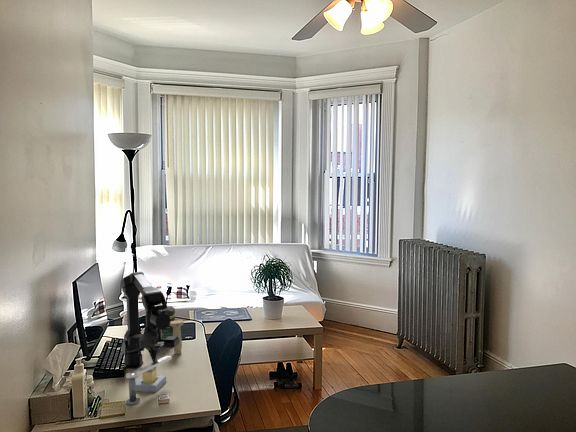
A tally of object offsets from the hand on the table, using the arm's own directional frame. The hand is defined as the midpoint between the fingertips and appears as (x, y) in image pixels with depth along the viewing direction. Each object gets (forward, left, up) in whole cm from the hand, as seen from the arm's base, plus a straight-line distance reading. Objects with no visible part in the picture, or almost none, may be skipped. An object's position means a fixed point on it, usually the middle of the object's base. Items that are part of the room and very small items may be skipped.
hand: (154, 362), depth 190 cm
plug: (-3, 0, -10) cm, 10 cm away
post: (-3, -14, -10) cm, 17 cm away
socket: (-3, 0, -10) cm, 10 cm away
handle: (-6, +36, -10) cm, 38 cm away
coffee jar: (-16, +48, -10) cm, 52 cm away
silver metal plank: (0, -5, 0) cm, 5 cm away
